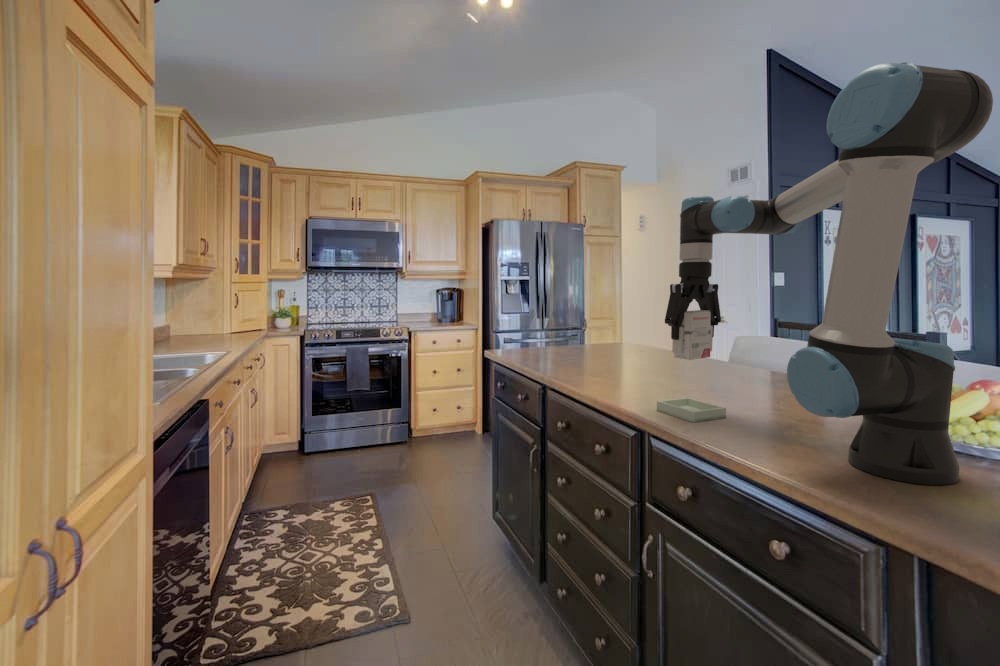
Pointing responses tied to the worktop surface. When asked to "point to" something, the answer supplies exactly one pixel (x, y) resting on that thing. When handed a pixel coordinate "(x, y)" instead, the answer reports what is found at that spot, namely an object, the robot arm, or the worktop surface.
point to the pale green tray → (691, 409)
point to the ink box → (695, 335)
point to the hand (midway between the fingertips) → (692, 351)
